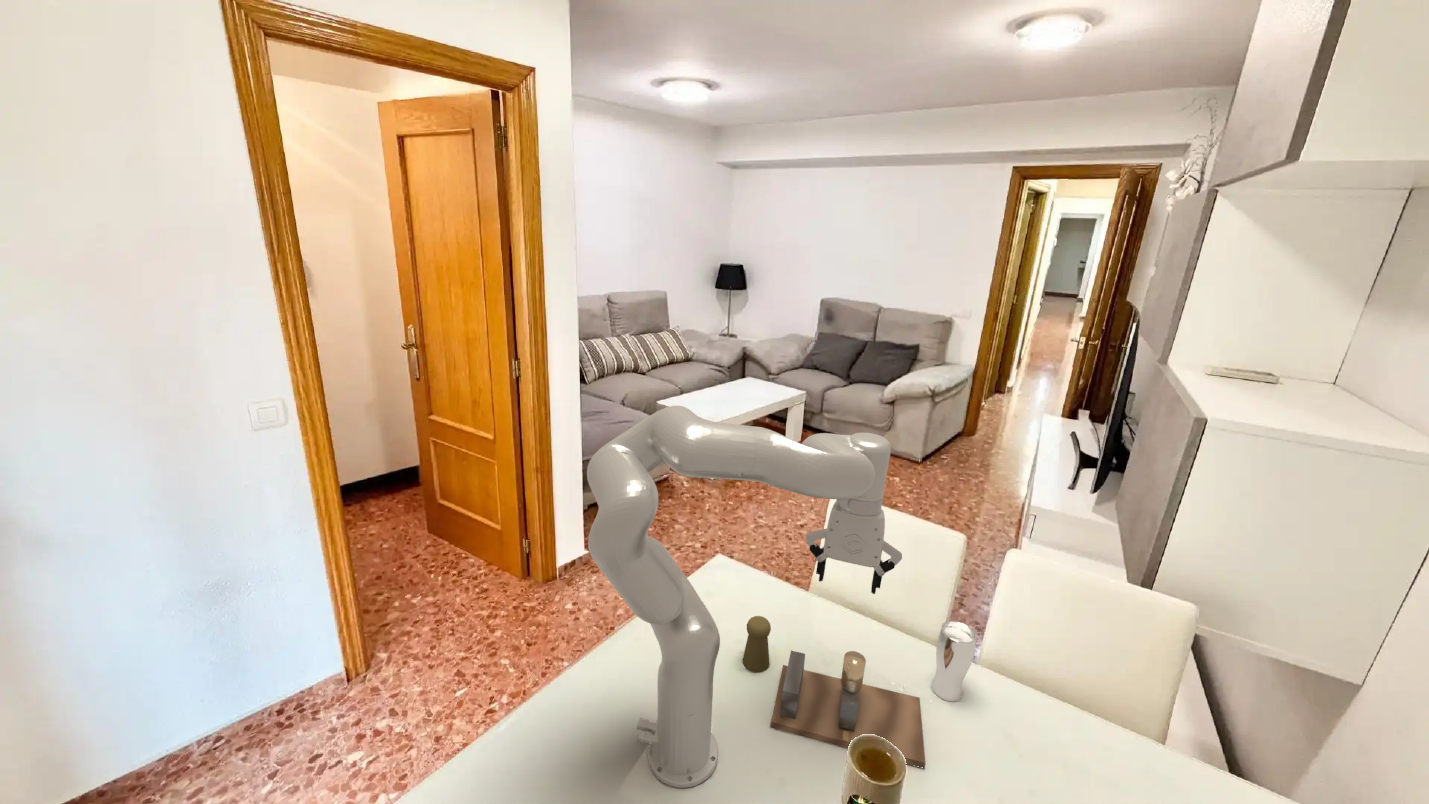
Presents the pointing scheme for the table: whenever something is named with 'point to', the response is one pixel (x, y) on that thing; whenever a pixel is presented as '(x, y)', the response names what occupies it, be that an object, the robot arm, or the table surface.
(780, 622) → the table surface
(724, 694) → the table surface
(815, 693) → the base
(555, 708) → the table surface
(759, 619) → the olive brown pawn
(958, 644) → the beer glass
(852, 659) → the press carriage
